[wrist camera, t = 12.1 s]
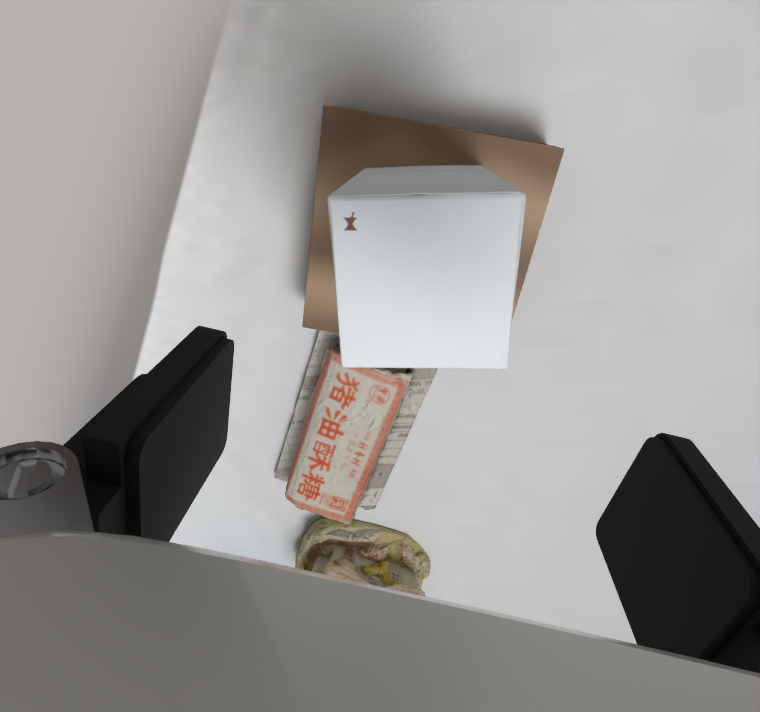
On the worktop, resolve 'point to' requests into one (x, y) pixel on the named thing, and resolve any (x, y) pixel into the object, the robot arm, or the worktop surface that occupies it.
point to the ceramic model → (364, 555)
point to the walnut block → (414, 148)
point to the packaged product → (347, 431)
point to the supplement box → (426, 266)
